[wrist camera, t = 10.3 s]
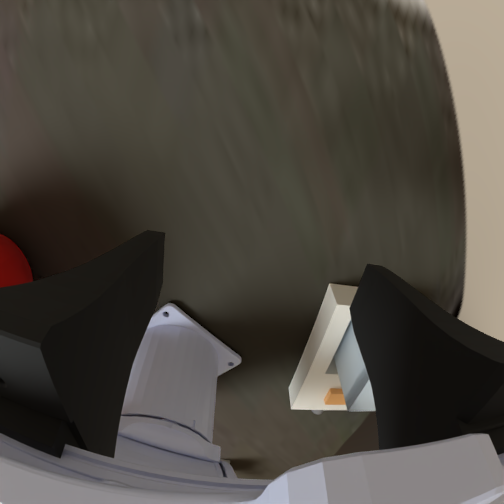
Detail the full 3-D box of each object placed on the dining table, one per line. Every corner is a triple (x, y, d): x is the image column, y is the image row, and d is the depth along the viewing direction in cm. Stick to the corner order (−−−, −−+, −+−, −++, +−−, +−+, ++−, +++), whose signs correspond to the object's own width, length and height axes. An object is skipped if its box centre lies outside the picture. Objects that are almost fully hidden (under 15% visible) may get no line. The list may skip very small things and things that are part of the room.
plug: (361, 345, 26) (384, 410, 20) (329, 343, 26) (347, 411, 19) (382, 303, 24) (414, 369, 18) (348, 300, 24) (375, 369, 17)
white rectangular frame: (347, 403, 30) (353, 427, 27) (282, 402, 29) (284, 427, 27) (409, 293, 23) (424, 317, 21) (329, 283, 23) (339, 310, 20)
